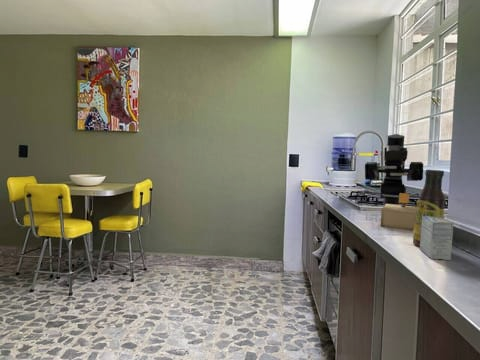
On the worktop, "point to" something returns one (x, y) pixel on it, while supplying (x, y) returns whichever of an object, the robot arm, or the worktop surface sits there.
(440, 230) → the medicine box
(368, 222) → the worktop surface
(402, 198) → the pull drawer
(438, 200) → the sauce bottle
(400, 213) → the carton
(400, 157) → the robot arm
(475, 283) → the worktop surface
